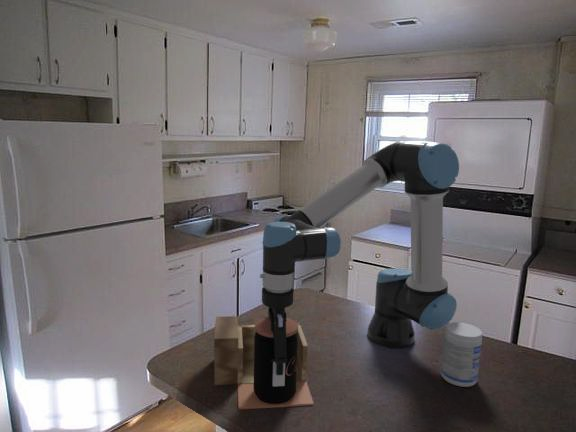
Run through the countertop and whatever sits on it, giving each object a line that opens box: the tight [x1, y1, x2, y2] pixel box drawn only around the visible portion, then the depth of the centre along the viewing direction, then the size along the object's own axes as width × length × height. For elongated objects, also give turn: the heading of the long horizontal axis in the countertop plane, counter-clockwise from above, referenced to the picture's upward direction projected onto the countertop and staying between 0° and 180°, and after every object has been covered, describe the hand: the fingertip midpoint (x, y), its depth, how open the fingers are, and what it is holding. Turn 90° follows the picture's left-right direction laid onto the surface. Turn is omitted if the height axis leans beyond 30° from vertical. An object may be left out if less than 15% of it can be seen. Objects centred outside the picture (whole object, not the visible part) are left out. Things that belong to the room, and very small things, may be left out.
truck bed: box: [213, 315, 309, 386], centre depth 116 cm, size 24×13×14 cm, turn 98°
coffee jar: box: [253, 316, 299, 404], centre depth 105 cm, size 11×11×18 cm
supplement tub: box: [440, 321, 483, 388], centre depth 117 cm, size 10×10×15 cm
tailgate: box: [237, 380, 314, 410], centre depth 106 cm, size 18×1×10 cm
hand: (275, 369), depth 105 cm, fingers open, 13 cm apart
